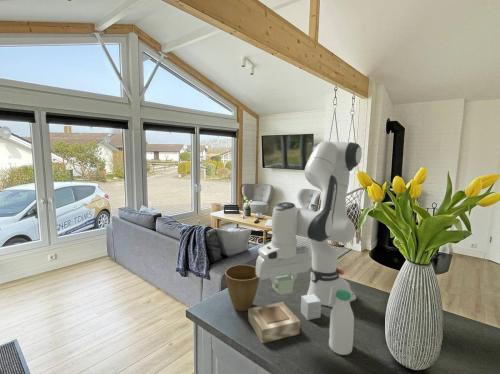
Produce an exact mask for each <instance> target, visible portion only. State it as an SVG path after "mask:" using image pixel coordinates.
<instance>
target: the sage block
mask: <svg viewBox="0 0 500 374" xmlns="http://www.w3.org/2000/svg"><path fill="white" fill-rule="evenodd" d="M274 281H275V282H277V283H278V288H275V289H274V291H275V292H277V294H278V295H279V296H283V295H284V296H285V295H288V294H292V293H293V291H294V285H293V279H292V278H291V275H285V276H280V277H275V280H274Z"/></svg>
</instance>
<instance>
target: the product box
mask: <svg viewBox="0 0 500 374" xmlns="http://www.w3.org/2000/svg"><path fill="white" fill-rule="evenodd" d="M300 300H301V301H300V313H301V314H302V315H303V316H304V318H305V319H306V320H307V321H310V320H314V319H320V318H321V315H322V313H321V312H322V305H321V301H320V300H319V299H318V298H317V297H316V296H315V295H314V294H310V295H307V294H304V295H301V299H300Z"/></svg>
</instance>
